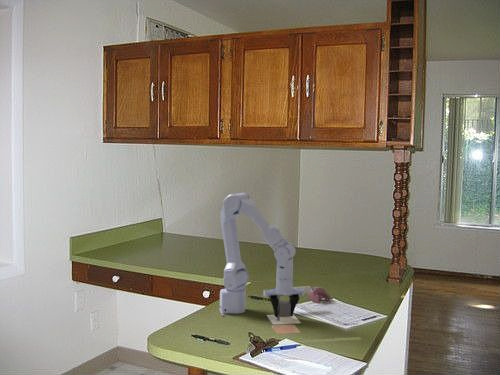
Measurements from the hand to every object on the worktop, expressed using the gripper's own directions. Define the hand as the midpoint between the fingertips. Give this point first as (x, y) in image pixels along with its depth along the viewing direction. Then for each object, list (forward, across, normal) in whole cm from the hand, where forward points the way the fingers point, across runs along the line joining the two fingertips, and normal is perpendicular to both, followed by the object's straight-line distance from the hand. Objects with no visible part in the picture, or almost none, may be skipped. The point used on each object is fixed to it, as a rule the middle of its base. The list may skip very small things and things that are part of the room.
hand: (283, 315), depth 183 cm
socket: (+2, 0, +2) cm, 3 cm away
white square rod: (-5, +6, +9) cm, 12 cm away
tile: (+2, -2, -10) cm, 10 cm away
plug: (+1, 0, 0) cm, 1 cm away
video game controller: (+2, +20, +21) cm, 29 cm away
